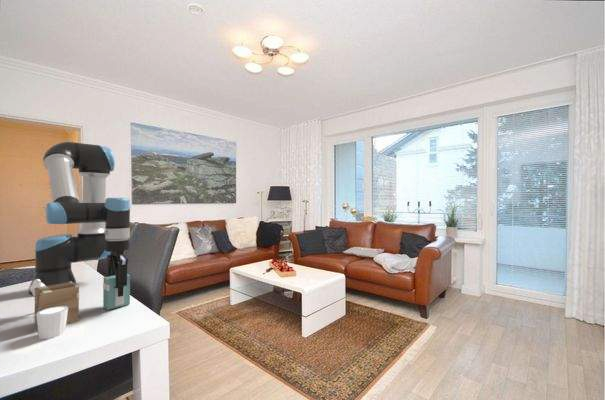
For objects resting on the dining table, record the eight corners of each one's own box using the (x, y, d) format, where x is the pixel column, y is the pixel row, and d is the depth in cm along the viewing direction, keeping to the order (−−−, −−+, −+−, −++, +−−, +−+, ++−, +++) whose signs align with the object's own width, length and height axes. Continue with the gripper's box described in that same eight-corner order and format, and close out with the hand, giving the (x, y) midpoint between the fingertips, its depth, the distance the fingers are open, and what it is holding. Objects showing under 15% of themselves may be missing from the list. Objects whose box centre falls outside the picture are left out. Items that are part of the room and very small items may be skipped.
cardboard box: (34, 322, 86) (34, 287, 86) (71, 313, 93) (71, 281, 93) (40, 331, 80) (40, 293, 80) (78, 320, 87) (79, 286, 87)
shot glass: (49, 329, 82) (50, 305, 82) (74, 328, 82) (74, 305, 82) (28, 340, 75) (29, 315, 75) (55, 339, 75) (55, 314, 75)
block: (103, 306, 98) (103, 277, 98) (125, 301, 104) (125, 273, 104) (107, 310, 95) (107, 279, 95) (129, 304, 101) (130, 275, 101)
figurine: (46, 315, 91) (47, 279, 91) (29, 319, 88) (29, 282, 88) (46, 309, 96) (46, 275, 96) (29, 312, 93) (29, 277, 94)
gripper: (97, 238, 102) (96, 300, 102) (114, 243, 91) (113, 312, 91) (120, 236, 108) (119, 295, 108) (138, 240, 97) (137, 305, 97)
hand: (116, 303), depth 100 cm, fingers closed on block, 4 cm apart
